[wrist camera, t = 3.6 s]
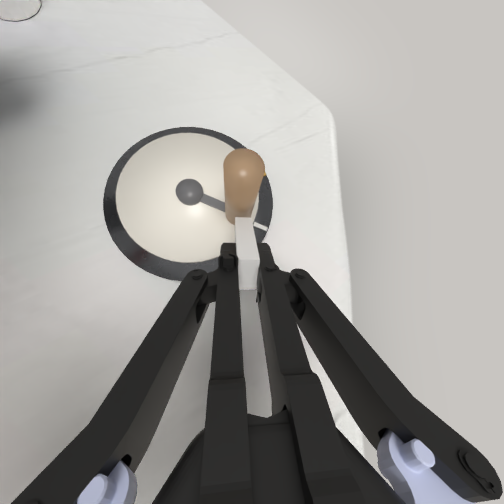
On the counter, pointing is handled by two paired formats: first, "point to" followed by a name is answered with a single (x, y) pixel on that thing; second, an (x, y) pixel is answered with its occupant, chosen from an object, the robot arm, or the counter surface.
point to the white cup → (18, 9)
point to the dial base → (150, 260)
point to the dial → (187, 195)
